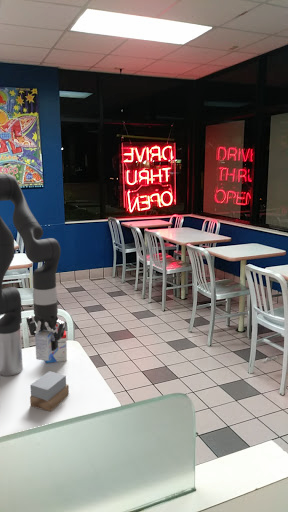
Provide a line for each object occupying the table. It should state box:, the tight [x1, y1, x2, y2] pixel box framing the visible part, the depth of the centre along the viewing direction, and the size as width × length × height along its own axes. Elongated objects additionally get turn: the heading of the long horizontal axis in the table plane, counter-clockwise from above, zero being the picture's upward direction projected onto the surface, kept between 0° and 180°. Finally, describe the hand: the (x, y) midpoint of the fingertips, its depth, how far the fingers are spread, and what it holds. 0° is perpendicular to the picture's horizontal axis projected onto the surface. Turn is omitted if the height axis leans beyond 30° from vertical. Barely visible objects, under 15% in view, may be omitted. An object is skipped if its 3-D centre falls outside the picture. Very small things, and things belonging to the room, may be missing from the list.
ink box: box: [45, 324, 68, 364], centre depth 162 cm, size 8×5×15 cm, turn 106°
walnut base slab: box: [29, 383, 70, 412], centre depth 135 cm, size 8×11×4 cm
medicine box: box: [34, 329, 58, 361], centre depth 131 cm, size 8×4×9 cm, turn 168°
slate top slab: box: [30, 370, 67, 401], centre depth 134 cm, size 7×10×4 cm
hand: (47, 348), depth 131 cm, fingers closed on medicine box, 4 cm apart
